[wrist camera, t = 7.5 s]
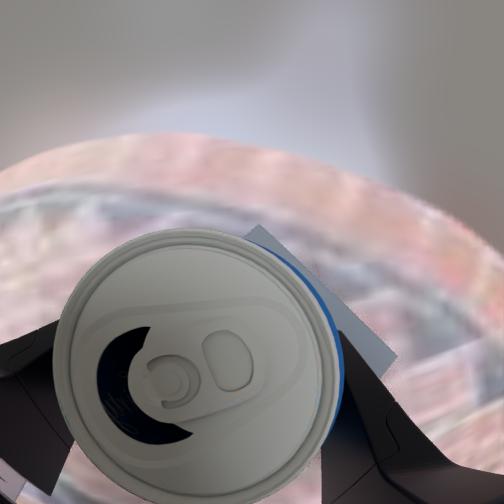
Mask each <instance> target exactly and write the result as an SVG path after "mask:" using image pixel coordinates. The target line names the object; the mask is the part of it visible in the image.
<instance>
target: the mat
mask: <svg viewBox="0 0 504 504" xmlns="http://www.w3.org/2000/svg"><path fill="white" fill-rule="evenodd" d="M243 239H246V240H249V241H252V242H254V243H256V244H259V245H261V246H263V247H265V248H267V249H269V250H271V251H272V252H274V253H276V254H277V255H279V256H281V257H282V258H284V259H285V260H286V261H287V262H289V263H290V264H291V265H292V266H294V267H295V268H296V269H297V270H298V271H299V272H300V273H301V274H302V275H303V276H304V277H305V278H306V279H307V280H308V281H309V282H310V283H311V284H312V286H313V287H314V288H315V290H316V291H317V292H318V294H319V295H320V296H321V298H322V299H323V301H324V303H325V305H326V306H327V308H328V310H329V312H330V314H331V316H332V318H333V321H334V323H335V326H336V328H337V330H341V331H342V332H343V333H344V334H345V336H346V337H347V338H348V340H349V341H350V342H351V343H352V345H353V346H354V347H355V348H356V350H357V351H358V352H359V354H360V355H361V356H362V357H363V359H364V360H365V361H366V362H367V364H368V365H369V366H370V368H371V369H372V370H373V371H374V373H375V374H376V375H377V377H378V378H379V379H380V377H381V376H382V375H383V374H384V373H385V372H386V370H387V369H388V368H389V367H390V366H391V364H392V363H393V362H394V361H395V359H396V358H397V357H398V356H397V355H396V354H395V353H394V352H393V351H392V350H391V349H390V348H389V347H388V346H387V345H386V344H385V343H384V342H383V341H382V340H381V339H380V338H379V337H378V336H377V335H376V334H375V333H374V332H373V331H372V330H371V329H370V328H369V327H368V326H366V325H365V324H364V323H363V322H362V321H361V320H360V319H359V318H358V317H357V316H356V315H355V314H354V313H353V312H352V311H351V310H350V309H349V308H348V307H347V306H346V305H345V304H344V303H343V302H342V301H341V300H340V299H339V298H338V297H337V296H336V295H334V294H333V293H332V292H331V291H330V290H329V289H328V288H327V287H326V286H325V285H324V284H323V283H322V282H321V281H320V280H319V279H318V278H317V277H316V276H315V275H313V274H312V273H311V272H310V271H309V270H308V269H307V268H306V267H305V266H304V265H303V264H302V263H301V262H300V261H299V260H298V259H297V258H295V257H294V256H293V255H292V254H291V253H290V252H289V251H288V250H287V249H286V248H285V247H284V246H283V245H282V244H280V243H279V242H278V241H277V240H276V239H275V238H274V237H273V236H272V235H271V234H270V233H269V232H267V231H266V230H265V229H264V228H263V227H262V226H261V225H260V224H259V225H257V226H256V227H255V228H254V229H253V230H252V231H251V232H250V233H249V234H248V235H246V236H245V237H244V238H243Z"/></svg>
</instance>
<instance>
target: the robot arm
mask: <svg viewBox="0 0 504 504" xmlns="http://www.w3.org/2000/svg"><path fill="white" fill-rule="evenodd" d="M59 320H60V319H59ZM59 320H57V321H55V322H52V323H50V324H48V325H46V326H44V327H41V328H39V329H38V330H35V331H33V332H30V333H28V334H26V335H24V336H21V337H19V338H17V339H14V340H11V341H9V342H6V343H3V344H1V345H0V504H17V503H15V502H16V500H17V498H18V496H19V494H20V492H21V490H22V488H23V487H24V485H25V483H26V481H27V482H29V483H30V484H32V485H33V486H35V487H36V488H38V489H39V490H41V491H42V492H44V493H45V494H47V495H48V496H51V494H52V492H53V490H54V487H55V485H56V482H57V480H58V477H59V475H60V473H61V470H62V468H63V466H64V463H65V461H66V459H67V456H68V454H69V452H70V449H71V447H72V445H73V443H74V441H75V439H74V437H73V436H72V434H71V432H70V430H69V428H68V426H67V424H66V422H65V420H64V417H63V415H62V412H61V409H60V406H59V403H58V399H57V396H56V391H55V385H54V378H53V349H54V341H55V336H56V331H57V327H58V323H59ZM337 331H338V334H339V338H340V342H341V347H342V351H343V360H344V387H343V394H342V399H341V404H340V409H339V412H338V414H337V417H336V420H335V423H334V425H333V427H332V429H331V431H330V433H329V435H328V437H327V439H326V440H325V442H324V444H323V445H322V446H321V472H322V504H504V475H501V474H495V473H490V472H485V471H480V470H476V469H471V468H467V467H463V466H460V465H457V464H455V463H453V462H452V461H450V460H449V459H448V458H447V457H446V456H445V455H444V454H443V453H442V452H441V451H440V450H439V449H438V448H437V447H436V446H435V445H434V444H433V443H432V442H431V441H430V440H429V439H428V438H427V437H426V436H425V434H424V433H423V432H422V431H421V430H420V429H419V428H418V427H417V426H416V425H415V424H414V422H413V421H412V420H411V419H410V418H409V416H408V415H407V414H406V413H405V412H404V410H403V409H402V408H401V406H400V405H399V404H398V402H397V401H395V399H394V397H393V396H392V395H391V393H390V392H389V391H388V390H387V388H386V387H385V386H384V384H383V383H382V382H381V380H380V379H379V378H378V377H377V375H376V374H375V373H374V371H373V370H372V369H371V368H370V366H369V365H368V364H367V362H366V361H365V360H364V359H363V357H362V356H361V355H360V354H359V352H358V351H357V350H356V348H355V347H354V346H353V345H352V343H351V342H350V341H349V340H348V338H347V337H346V336H345V334H344V333H343V332H342V331H341V330H337Z"/></svg>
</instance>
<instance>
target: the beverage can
mask: <svg viewBox="0 0 504 504" xmlns="http://www.w3.org/2000/svg"><path fill="white" fill-rule="evenodd" d="M53 378H54V385H55V391H56V396H57V399H58V403H59V406H60V409H61V412H62V415H63V417H64V420H65V422H66V424H67V426H68V428H69V430H70V432H71V434H72V436H73V437H74V439H75V441H76V442H77V444H78V445H79V447H80V448H81V449H82V451H83V452H84V453H85V455H86V456H87V457H88V458H89V459H90V461H91V462H92V463H93V464H94V465H95V466H96V467H97V468H98V469H99V470H100V471H101V472H102V473H103V474H105V475H106V476H107V477H108V478H109V479H111V480H112V481H113V482H114V483H116V484H117V485H119V486H120V487H122V488H123V489H125V490H127V491H128V492H130V493H132V494H134V495H136V496H138V497H140V498H142V499H144V500H146V501H149V502H152V503H155V504H252V503H255V502H258V501H260V500H262V499H264V498H266V497H268V496H270V495H272V494H274V493H275V492H277V491H278V490H280V489H281V488H283V487H284V486H286V485H287V484H288V483H290V482H291V481H292V480H293V479H294V478H296V477H297V476H298V475H299V474H300V473H301V472H302V471H303V470H304V469H305V468H306V467H307V465H308V464H309V463H310V462H311V460H312V459H313V458H314V457H315V455H316V454H317V453H318V451H319V449H320V448H321V446H322V445H323V444H324V442H325V440H326V439H327V437H328V435H329V433H330V431H331V429H332V427H333V425H334V423H335V420H336V417H337V414H338V412H339V409H340V404H341V399H342V394H343V387H344V360H343V351H342V347H341V342H340V338H339V334H338V331H337V328H336V326H335V323H334V321H333V318H332V316H331V314H330V312H329V310H328V308H327V306H326V305H325V303H324V301H323V299H322V298H321V296H320V295H319V294H318V292H317V291H316V290H315V288H314V287H313V286H312V284H311V283H310V282H309V281H308V280H307V279H306V278H305V277H304V276H303V275H302V274H301V273H300V272H299V271H298V270H297V269H296V268H295V267H294V266H292V265H291V264H290V263H289V262H287V261H286V260H285V259H284V258H282V257H281V256H279V255H277V254H276V253H274V252H272V251H271V250H269V249H267V248H265V247H263V246H261V245H259V244H256V243H254V242H252V241H249V240H246V239H243V238H240V237H237V236H234V235H231V234H227V233H224V232H220V231H214V230H208V229H201V228H178V229H168V230H162V231H158V232H153V233H149V234H146V235H143V236H140V237H138V238H135V239H133V240H130V241H128V242H126V243H125V244H123V245H121V246H119V247H117V248H115V249H114V250H112V251H111V252H110V253H108V254H107V255H105V256H104V257H103V258H101V259H100V260H99V261H98V262H97V263H96V264H95V265H94V266H93V267H92V268H91V269H90V270H89V271H88V272H87V273H86V274H85V275H84V277H83V278H82V279H81V280H80V281H79V283H78V284H77V286H76V287H75V289H74V290H73V292H72V294H71V295H70V297H69V299H68V301H67V303H66V305H65V307H64V309H63V312H62V314H61V317H60V320H59V323H58V327H57V331H56V336H55V341H54V349H53Z"/></svg>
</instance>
